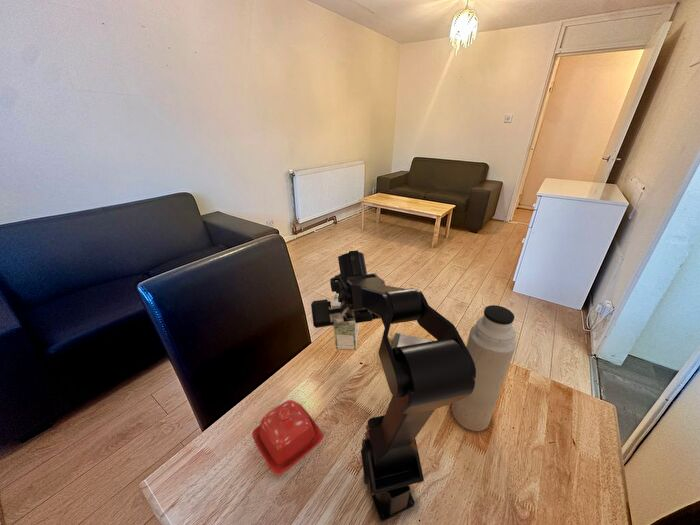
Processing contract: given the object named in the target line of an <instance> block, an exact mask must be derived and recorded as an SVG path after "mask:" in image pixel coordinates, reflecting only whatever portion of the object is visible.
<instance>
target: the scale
mask: <svg viewBox="0 0 700 525" xmlns="http://www.w3.org/2000/svg"><path fill="white" fill-rule="evenodd" d="M431 341H433V340H432V339H427V338H422V337H417V336H413V335H408V334H403V333H399V332H395V333H394V337H393V340H392V344H391V348H395V347H401V346H407V345H413V344H419V343H425V342H431Z"/></svg>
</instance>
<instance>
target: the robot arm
mask: <svg viewBox="0 0 700 525" xmlns="http://www.w3.org/2000/svg"><path fill="white" fill-rule="evenodd" d="M337 261H338V266H339V274H335V275H334V276H333V277H331V278H330V279H329V285H330V290H331V292H332V293H335V294H337V295H339V296H338V302H341V304H340V308H337V309H332V302H331V300H328V299H325V298H324V299H319V300H312V302H311V304H310V307H311V308H310V310H311V316H312V317H311V318H312V324H313V328H315V329H319V328H326V327H332V326H333V327H334V321H333V319H339V318H343V322H347V321H354V320H355V323H357V324H360V323H367V322H372V321H373V320H380V319H381V322H382V325H383V327H384V330H383V333H382V337H381V341H380V344H379V348H378V357H379V360H380V364H381V366H382V369H383V373H384V376H385V380H386V384H387V386H388V389H389V392H390V393H391V398H390V400H389V403H388V406H387V408H386V411H385V414H383V415H378V416H374V417H370V418H369V419H367V425H365V430H366V431H365V433H364V434H365V435H364V438H362V442H361V449H360V458H361V465H362V474H363V476H362V477H363V478H362V479H363V483H364V484H365V485H366V486H367V490H368V491H369V494H370V497H371V499H372V502H373V505H374V507H375V510H376V512H377V515H378V518H379V520H380V521H381V522H382V523H384V522H386V521H388V520H390V519H392V518H394V517H396V516H398V515H400V514H402V513H404V512H406V511H408V510H410V509H412V508H413V507H415V500H414V498H413V495H412V493H411V492H410V491H411V487H410V486H411V485H415V484H420V483H423V482H424V481H425V479H424V474H423V469H422V464H421V459H420V454H419V449H418V443H417V439H416V438H417V437H418V435H419V433H420V432H421V431H422V429H423V428H424V427H425V425H426V424H427V422H428V421H429V419H430V418H431V416H432V415H433V414H434V412H435V411H436V410H437V409H440V408H443V407H446V406H449V405H452V404H453V403H454V402H457V401H459V400H461V399H463V398H465V397H467V396H469V395H470V394H471V393H472V392H473V390H474V387H475V382H476V381H475V377H476V368H475V363H474V361H473V359H472V356H471V355H470V353H469V351H468V349H467V347H466V346H467V345H466V343H465V342H464V340H463V339H462V337H461V335H460V333H459V331H458V329H457V328H456V326H455V325H454V323H453V322H451V321H450V320H448V318H446V317H444V316H443V315H442V314H440V312H438V311H437V310H435V309H434V308H433V307H431V306H430V305H429V303H428V301H427V299H426V297H425V295H424V293H423V292H422V291H421V290H420V289H415V288H414V287H411V288H410V287H409V288H403V287H396V286H392V285H386V282H385V281H386V280H384V279H382V278H381V277H380V276H379V275H378V274H377V273H376V272H374V273H373V272H372V273H368V271H367V266H366V259H365V254H364V253H363V252H360V251H359V250H358V249H357V250H349V251H348V252H346V253H343V254H341V255H339V256H338V257H337ZM338 313H341V314H340V315H339V314H338ZM333 314H338V315H337V316H336V315H335V316H334V315H333ZM413 321H416V322H417V324H418V325H419V326H420V327H421V328H422V329H423V330H425V331H426V332H427V333H428V334H429V335H431V336H432V337H433V338H434V339H436V340H432V341H431V342H425V343H419V344H413V345H407V346H401V347H395V348H392V344H391V342H390V339H389V332H390V329H391V325H396V324H400V323H402V324H403V323H407V322H413ZM382 517H383V518H382Z"/></svg>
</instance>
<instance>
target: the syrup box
mask: <svg viewBox="0 0 700 525" xmlns="http://www.w3.org/2000/svg"><path fill="white" fill-rule="evenodd" d="M338 296H339V294H334V296H333V300H332V302H331V308H332V309H337V308H340V304H341V302H338ZM338 314H339V315H340V314H341V313H338ZM338 314H333V315H334V316H335V315H336V316H337V315H338ZM333 321H334V325H333V332H334V334H333V335H334V343H335V344H334V345H335V350H344V351H345V350H346V351H356V350H357V346H358V339H359V333H358V323H355V320H354V321H347V322H343V318H339V319H333Z"/></svg>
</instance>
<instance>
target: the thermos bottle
mask: <svg viewBox="0 0 700 525" xmlns="http://www.w3.org/2000/svg"><path fill="white" fill-rule="evenodd" d="M514 320H515V314H514V313H513V312H512V311H511V310H510V309H508V308H506V307H504V306H501V305H497V304H495V305H494V304H491V305H487V306H486V307H485V308H484V310H483V316H482V317H479V318H478V319H476V322H475V324H474V325H472V326H471V328H470V330H469V333H468V338H467V342H466V345H465V346H466V347H467V349H468V351H469V353H470V355H471V356H472V359H473V361H474V363H475V368H476V377H475V381H476V382H475V387H474V390H473V392H472V393H471V394H470V395H469V396H467V397H465V398H463V399H461V400H459V401H457V402H454V403H451V413H452V415H453V418H454V419H455V421H456V422H457V423H458V424H459V425H461V426H462V427H463V428H465V429H467V430H469V431H475V432H481V431H483V430H485V429H487V428H488V427H489V425H490V422H491V419H492V417H493V414H494V411H495V408H496V406H497V402H498V399H499V396H500V393H501V389H502V386H503V384H504V382H505V379H506V377H507V373H508V371H509V367H510V365H511V362H512V359H513V356H514V353H515V351H516V347H517V340H516V330H515V328H514V327H513V323H514Z"/></svg>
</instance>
